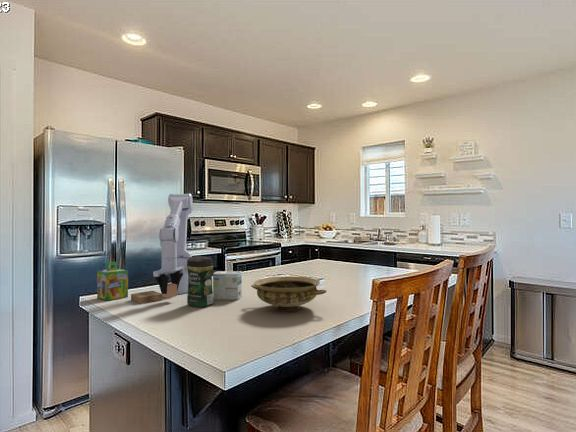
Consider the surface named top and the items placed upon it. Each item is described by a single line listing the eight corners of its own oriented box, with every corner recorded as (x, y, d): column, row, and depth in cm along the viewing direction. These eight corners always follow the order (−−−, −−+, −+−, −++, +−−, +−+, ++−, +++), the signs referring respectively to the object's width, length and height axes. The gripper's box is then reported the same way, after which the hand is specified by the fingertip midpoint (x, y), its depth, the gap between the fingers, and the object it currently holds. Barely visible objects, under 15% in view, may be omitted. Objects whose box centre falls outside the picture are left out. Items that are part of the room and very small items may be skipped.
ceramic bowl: (338, 305, 135) (337, 279, 135) (310, 322, 114) (310, 291, 114) (269, 297, 150) (268, 273, 150) (233, 311, 129) (233, 283, 129)
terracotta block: (172, 294, 147) (171, 283, 147) (177, 295, 144) (177, 284, 144) (162, 295, 144) (162, 284, 144) (167, 297, 141) (166, 285, 141)
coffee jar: (183, 305, 138) (182, 256, 138) (198, 301, 145) (198, 254, 145) (201, 308, 133) (201, 258, 133) (217, 304, 140) (216, 255, 140)
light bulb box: (242, 296, 153) (242, 270, 153) (238, 300, 146) (238, 273, 146) (217, 296, 154) (217, 270, 154) (212, 299, 147) (212, 273, 147)
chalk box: (107, 301, 146) (106, 264, 146) (96, 298, 152) (95, 263, 152) (129, 297, 154) (128, 262, 154) (117, 294, 159) (117, 260, 159)
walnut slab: (152, 297, 154) (152, 290, 154) (162, 301, 148) (162, 293, 148) (131, 301, 148) (130, 293, 148) (139, 305, 141) (139, 297, 141)
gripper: (174, 255, 152) (175, 287, 152) (147, 259, 139) (147, 294, 139) (187, 256, 149) (188, 289, 149) (161, 260, 136) (161, 296, 136)
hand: (169, 292), depth 144 cm, fingers closed on terracotta block, 5 cm apart
